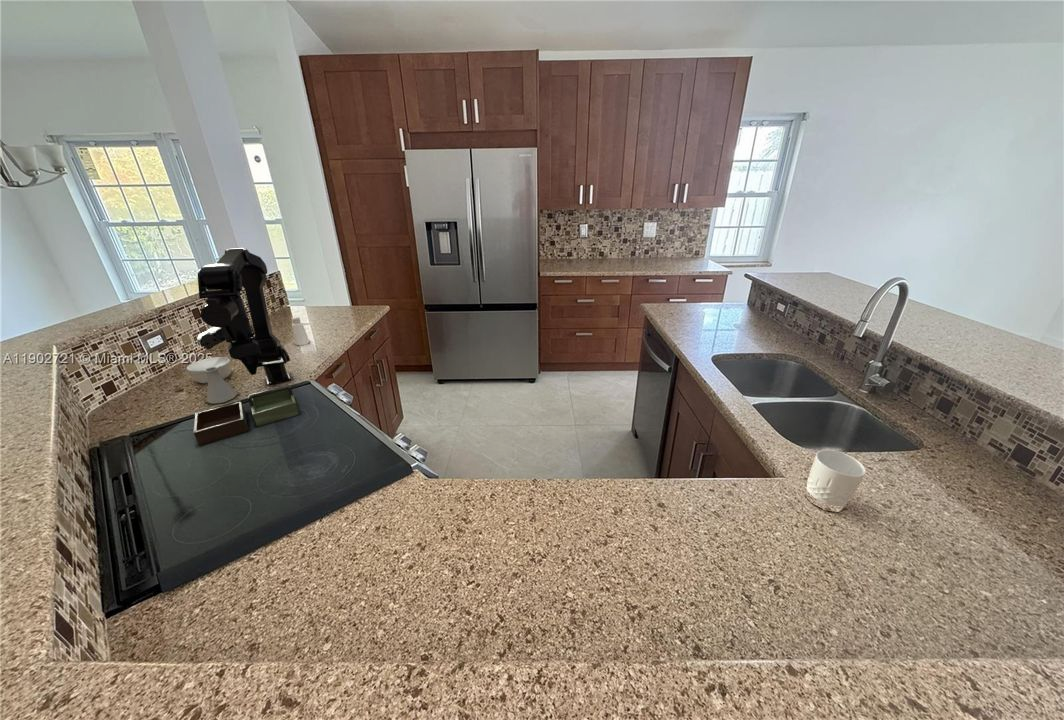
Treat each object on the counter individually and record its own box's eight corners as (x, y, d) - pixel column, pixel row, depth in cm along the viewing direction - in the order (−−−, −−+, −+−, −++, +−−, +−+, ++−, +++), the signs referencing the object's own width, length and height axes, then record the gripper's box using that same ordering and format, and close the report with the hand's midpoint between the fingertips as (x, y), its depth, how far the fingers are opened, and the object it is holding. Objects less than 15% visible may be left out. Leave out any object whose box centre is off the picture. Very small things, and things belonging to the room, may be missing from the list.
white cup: (841, 493, 78) (859, 456, 74) (852, 521, 72) (872, 481, 68) (797, 482, 81) (812, 445, 77) (804, 507, 75) (820, 468, 71)
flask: (243, 393, 116) (232, 364, 112) (223, 405, 109) (211, 375, 105) (222, 391, 116) (210, 363, 112) (201, 403, 110) (188, 373, 106)
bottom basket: (200, 425, 100) (194, 413, 98) (245, 413, 105) (241, 401, 104) (199, 446, 92) (193, 432, 90) (248, 431, 97) (243, 418, 96)
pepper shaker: (312, 340, 156) (306, 315, 151) (304, 345, 151) (297, 320, 146) (300, 340, 156) (293, 315, 152) (291, 345, 151) (284, 319, 147)
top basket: (253, 409, 107) (245, 387, 104) (293, 398, 113) (287, 377, 110) (256, 427, 99) (248, 404, 96) (299, 414, 105) (293, 392, 102)
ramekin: (240, 375, 127) (235, 361, 125) (200, 388, 118) (194, 373, 116) (226, 367, 132) (221, 354, 130) (187, 379, 124) (180, 365, 121)
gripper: (193, 311, 98) (214, 364, 105) (192, 331, 85) (216, 390, 92) (244, 304, 104) (261, 354, 111) (250, 321, 91) (269, 377, 98)
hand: (252, 368), depth 103 cm, fingers open, 9 cm apart
